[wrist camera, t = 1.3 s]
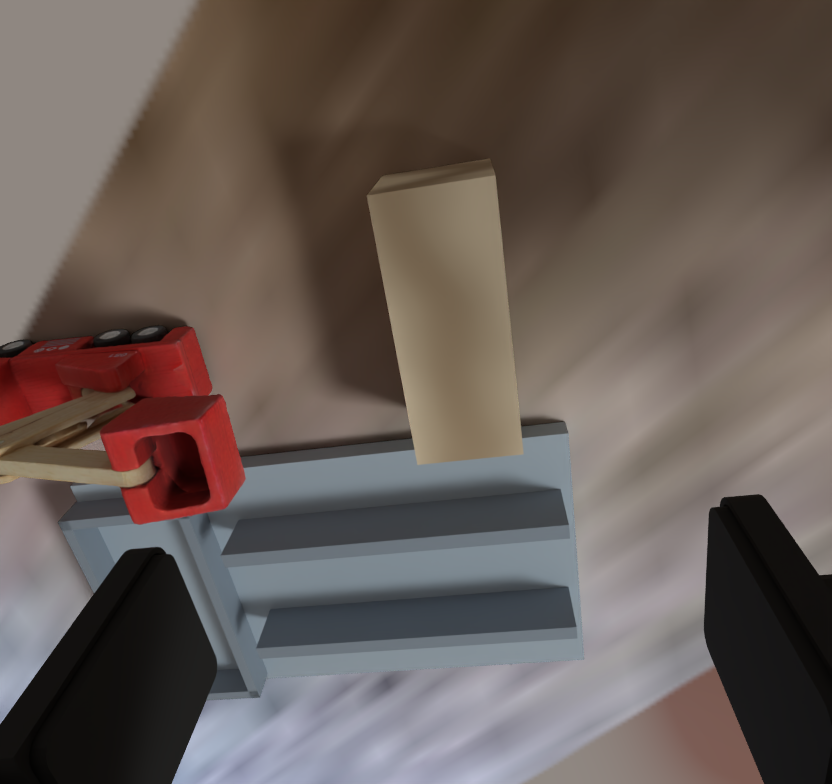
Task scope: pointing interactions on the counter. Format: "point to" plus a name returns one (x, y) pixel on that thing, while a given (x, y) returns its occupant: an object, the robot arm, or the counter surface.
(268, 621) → the board
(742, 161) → the counter surface
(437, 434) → the tan long rectangular block
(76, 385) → the toy fire truck
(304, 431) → the counter surface
